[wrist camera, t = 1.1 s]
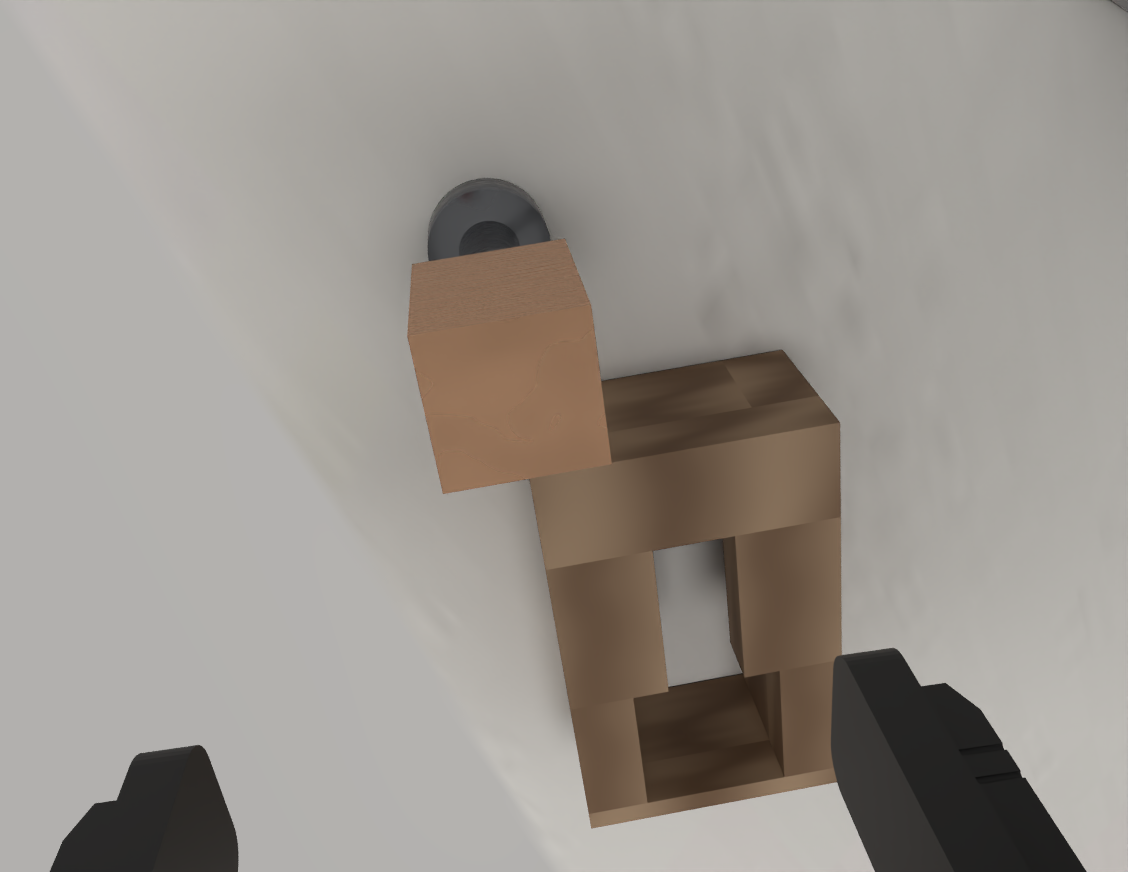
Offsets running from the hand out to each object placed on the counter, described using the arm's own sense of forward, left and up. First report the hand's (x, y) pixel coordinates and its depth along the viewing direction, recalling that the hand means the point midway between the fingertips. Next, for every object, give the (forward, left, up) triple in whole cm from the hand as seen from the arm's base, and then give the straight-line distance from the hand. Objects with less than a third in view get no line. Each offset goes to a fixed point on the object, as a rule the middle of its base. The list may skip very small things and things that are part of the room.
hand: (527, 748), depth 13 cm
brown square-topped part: (-1, 0, -24) cm, 24 cm away
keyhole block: (-6, +14, -24) cm, 28 cm away
